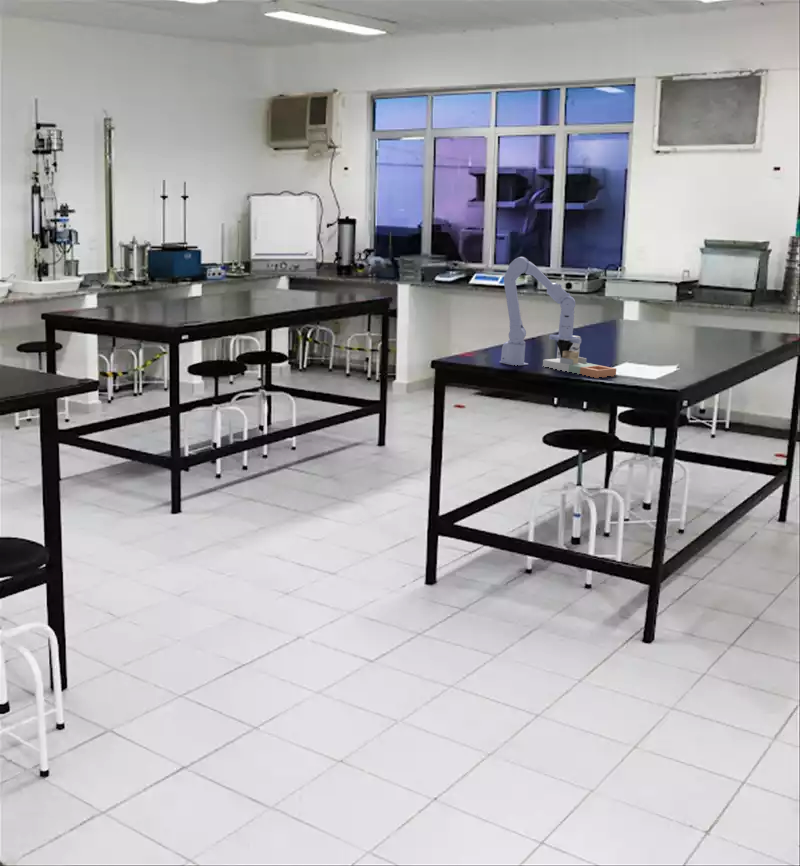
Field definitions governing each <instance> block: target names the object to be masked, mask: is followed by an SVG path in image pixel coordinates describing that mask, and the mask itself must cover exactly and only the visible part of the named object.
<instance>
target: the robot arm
mask: <svg viewBox="0 0 800 866" xmlns="http://www.w3.org/2000/svg"><path fill="white" fill-rule="evenodd" d="M523 273H525V274H526V275H529V276H532V277H534V279H536V281H538V282H539V283H540V284H541V285H542V286H543V287H544V288H546V294H547V295H548V296H549V297H550V298H551V299H553V301H554V302H556V303H557V305H560V309H561V310H560V315H559V325H558V334H549V336H548V337H549V338H548V340H550V341H551V340H552V341H554V340H555V341H556V345H557V348H559V351H560V355H561V358H562V356H563V351H569V350H570V348H571V346H572V345H573V343H577V344H580V345H581V344H582V340H583V339H582V338H581V337H580V338H575V337H572V336H573V333H574V324H575V323H574V322H575V321H574V320H575V307H576V300H575V298H574V297H573V296H571V293H570V292H567V291H566V290H565V289H564V288H563V285H562V284H561V283H559V284H558V282H553V281H551V280H550V279H549V278H548V277H547V276H546V275H545V274H544V273H543V272H542V270H540V268H539V267H537V266H536V265H535V264H534V263H533V262H532V261H529V259H528V258H526V257H525V256H518V257H516V258H515V259H513V260H512V261H511V262H510V263H509V265H508V268H507V270H506V272H505V274H504V276H503V283H504V284H503V285H504V290H505V298H506V305H507V310H508V311H507V313H508V317H509V333H508V339H509V340H508V341H505V342H504V343H503V344H502V347H501V355H500V360H499V363H501V364H504V365H505V364H506V365H511V366H514V365H515V366H516V367H518V366H526V365H528V366H529V363H528V362H525V353H526V341H525V340H524V339H525V338H526V336H527V331H526V329H525V327H524V325H523V320H522V317H521V316H522V315H521V310H520V303H519V297H518V296H519V295H518V289H517V283H516V281H517V280H518V279H519V278H520V277H521V275H522V274H523ZM562 339H564V340H562ZM558 340H559V341H558ZM568 340H569V341H568ZM517 365H518V366H517Z"/></svg>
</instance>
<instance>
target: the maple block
mask: <svg viewBox="0 0 800 866" xmlns="http://www.w3.org/2000/svg"><path fill="white" fill-rule="evenodd" d="M578 354H579V355H580V351H579V352H576V351H571V350H570V351H563V356H562V358H568V359H573V363H578Z"/></svg>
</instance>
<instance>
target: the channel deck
mask: <svg viewBox="0 0 800 866" xmlns="http://www.w3.org/2000/svg"><path fill="white" fill-rule="evenodd" d="M587 360H588V359H587V357H583V356H582V357H581V356H579V357H578V363H573V359H568V358H557V357H556V358H550V359H549V358H547V359H546V358H545V359H543V360H542V367H543V366H544V367H543V368H545V367H549V368H548V369H550V368H553V369H552V370H555V369H557V370H556V371H560V370H562V371H561V372H565V371H567V372H566V373H569V372H572V373H571V374H574V373H577V374H576V375H579V374H582V375H581V376H584V375H586V376H585V377H588V376H590V378H593V377H594V379H600V378H599V377H602V378H608V377H607V376H611V377H615V376H614V375H616V376H617V368H615V367H610V366H606V365H600V364H594V363H591V362H587Z"/></svg>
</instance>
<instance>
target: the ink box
mask: <svg viewBox="0 0 800 866" xmlns="http://www.w3.org/2000/svg"><path fill="white" fill-rule="evenodd" d="M572 337H575V338H580V339H581V338H582V337H581V336H579V335H573V336H572ZM562 340H564V339H562ZM558 341H559V340H557V342H558ZM568 341H569V340H568ZM580 347H581V343H580V344H577V343H573V345H572V346H571V348H570V350H571V351H576V352H579V354H578V357H580V350H581V349H580ZM556 350H557V351H556V359H557V358H561V355H560V351H559V348H558V347H557V349H556ZM570 350H569V351H570Z"/></svg>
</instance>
